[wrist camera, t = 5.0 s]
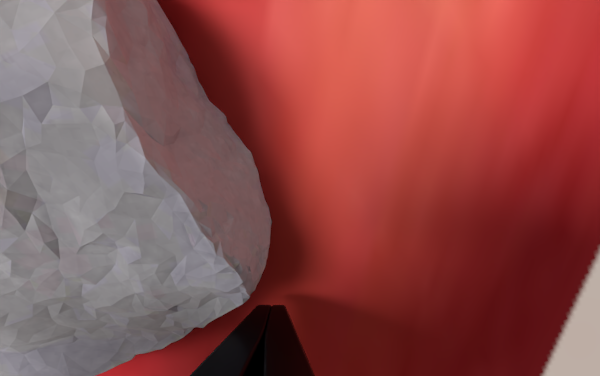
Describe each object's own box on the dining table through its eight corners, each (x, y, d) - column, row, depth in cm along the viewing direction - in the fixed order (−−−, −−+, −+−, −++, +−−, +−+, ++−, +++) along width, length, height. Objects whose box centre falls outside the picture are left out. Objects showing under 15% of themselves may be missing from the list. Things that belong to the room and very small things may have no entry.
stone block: (303, 218, 11) (129, -79, 7) (309, 324, 7) (-110, -263, 3) (75, 317, 13) (-158, 129, 9) (-27, 444, 9) (-545, 201, 5)
